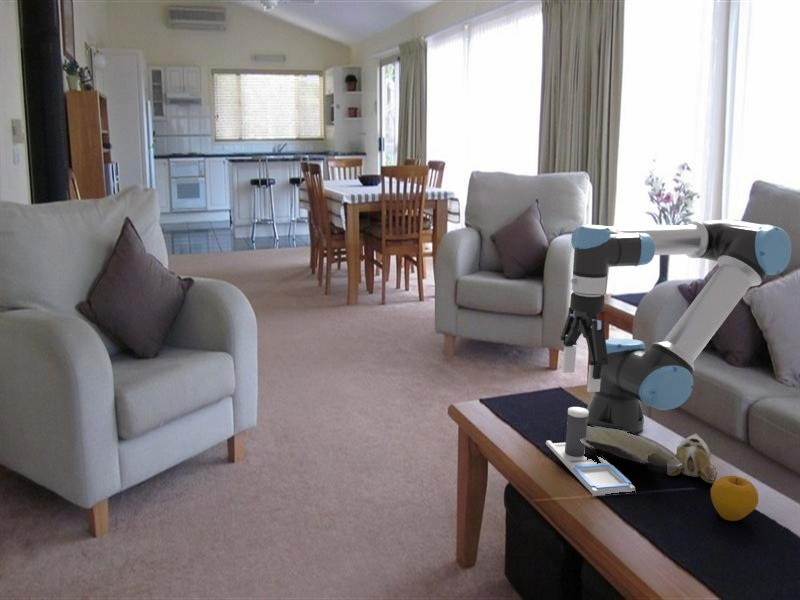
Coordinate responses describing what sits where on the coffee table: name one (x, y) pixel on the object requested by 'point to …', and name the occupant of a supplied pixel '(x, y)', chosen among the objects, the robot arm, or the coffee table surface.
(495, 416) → the coffee table surface
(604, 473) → the white divided tray
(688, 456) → the ceramic sculpture
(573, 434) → the grey and white cylinder
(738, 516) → the apple
